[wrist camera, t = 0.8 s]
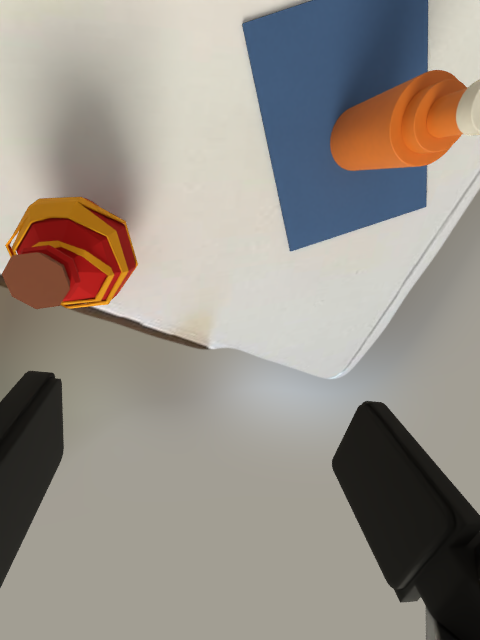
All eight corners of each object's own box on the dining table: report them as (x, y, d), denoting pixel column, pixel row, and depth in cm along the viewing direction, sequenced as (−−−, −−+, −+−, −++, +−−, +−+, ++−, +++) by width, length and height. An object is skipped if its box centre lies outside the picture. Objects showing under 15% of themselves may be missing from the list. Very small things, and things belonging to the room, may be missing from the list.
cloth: (242, 24, 27) (242, 23, 27) (426, -37, 27) (428, -39, 27) (290, 250, 37) (290, 251, 37) (424, 206, 37) (426, 206, 37)
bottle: (331, 106, 31) (461, 37, 16) (387, 103, 31) (562, 32, 16) (328, 172, 33) (435, 166, 18) (379, 168, 34) (523, 158, 19)
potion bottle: (153, 207, 32) (125, 226, 19) (139, 292, 36) (107, 357, 23) (50, 177, 30) (-67, 174, 17) (46, 271, 34) (-51, 331, 20)
